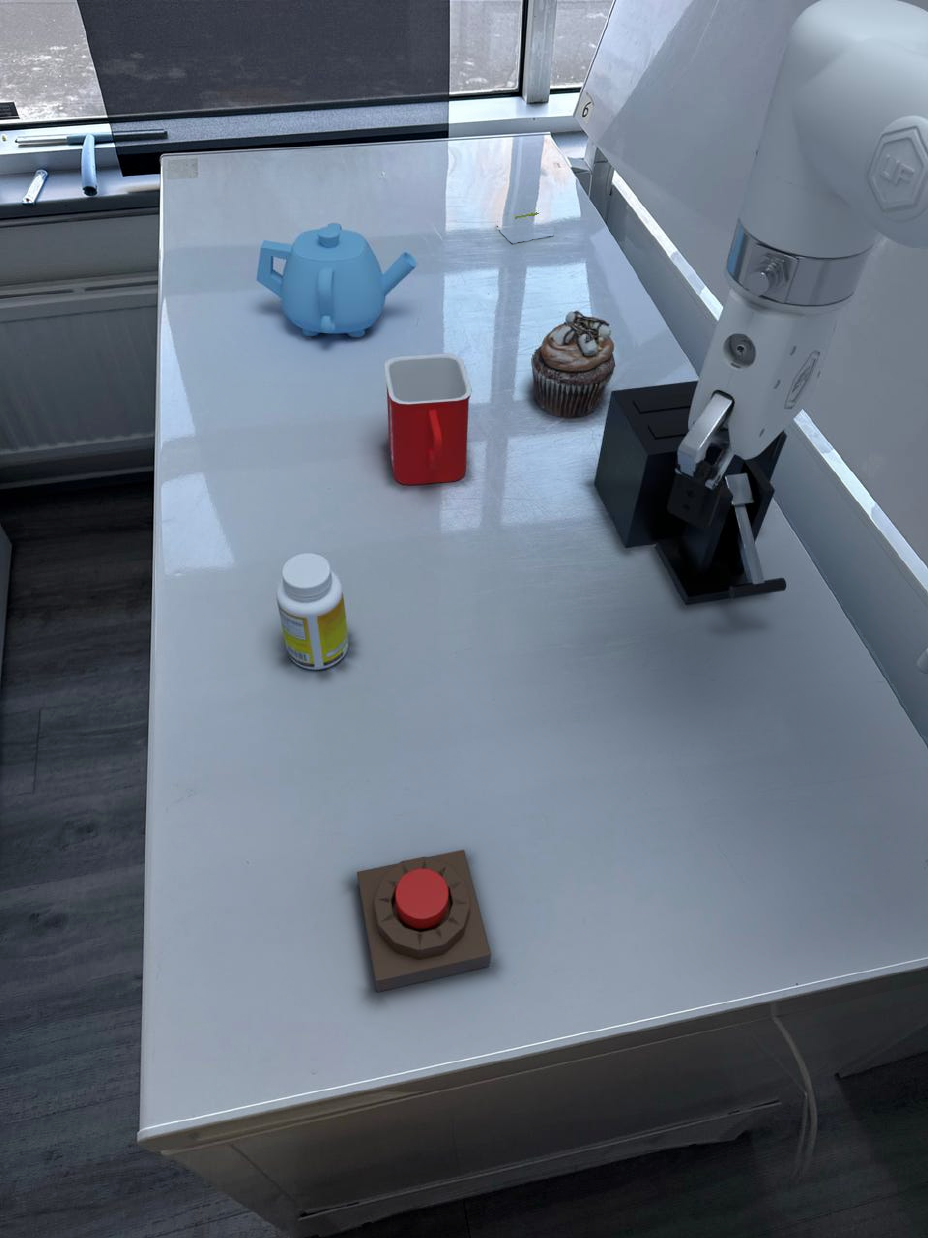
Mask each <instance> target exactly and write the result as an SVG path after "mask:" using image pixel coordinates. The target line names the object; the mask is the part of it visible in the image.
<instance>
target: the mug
mask: <svg viewBox="0 0 928 1238" xmlns="http://www.w3.org/2000/svg"><path fill="white" fill-rule="evenodd" d="M383 364H384V365H383V370H384V376H385V380H386V402H387V425H388V426H387V427H388V450H389V455H390V460H391V461H390V462H391V467H392V472H393V477H394V479H395V480H396V482H398V483H400V484H402V485H407V486H415V485H426V484H439V483H449V482H456V481H460V480H462V479H463V478H464V477H465V476H466V472H467V451H468V429H469V428H468V427H469V426H468V425H469V404H470V398H471V395H472V386H471V383H470V379H469V376H468V373H467V370H466V369H467V368H466V365H465V362H464V360H463V359H462V358H461V357H460V356H459V355H456V354H454V353H434V354H417V355H403V356H401V355H400V356H394V357H390V358H388V359H387V360H386V361H384V363H383Z"/></svg>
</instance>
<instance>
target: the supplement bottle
mask: <svg viewBox="0 0 928 1238" xmlns="http://www.w3.org/2000/svg"><path fill="white" fill-rule="evenodd" d="M281 576H282V577H281V578H280V580H279V581H278V583H277V584H276V585H277V586H276V589H275V599H276V603H277V609H278V614H279V617H280V623H281V627H282V633H283V637H284V643H285V649H286V652H287V654H288V656H289V658H290V659H291V661H293V662H294V663H295V664H296V665H298V666H299V667H301V668H304V669H308V670H323V669H327V668H330V667H332V666H334V665H336V664H337V663H339V662H340V661H341V660H342V659H343V658H344V657H345V655H346V653H347V651H348V648H349V634H348V624H347V616H346V615H347V614H346V606H345V597H344V589H343V584H342V581H341V579H340V577H339V576H338V575H337V574H336V572H334V571H332V570H331V565H330V563H329V561H328V560H327V559H326V558H324V557H323V556H321V555H320V554H316V553H299V554H297V555H294V556H292V557H291V558H289V559H288V560H286V562H285V563H284V565H283V566H282V571H281Z"/></svg>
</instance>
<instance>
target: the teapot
mask: <svg viewBox="0 0 928 1238" xmlns="http://www.w3.org/2000/svg"><path fill="white" fill-rule="evenodd" d="M342 227H343V226H342V225H341V223H339V222H331V223H329V224H327V226H323V227H320V228H317V229H311V230H306V231H303V232H301V233H300V234H299V235H297V236H296V238H295V239H294V241H293V243H292V244H290V243H286V242H278V241H272V240H266V239H263V241H262V243H261V246H260V251H259V259H258V266H257V273H256V282H258V283H259V284H260V285H262V286H264V287H265V288H266V289H268V290H269V291H270V292H272V294H274V295H275V296H277V297H278V298H280V300H281V308H282V311H283V312H284V314H285V316H286V317H287V319H289V320H290V321H291V322H292V323H293V324H294V325H295V326H297V327H298V328H301V329H302V330H301V332H302V334H303V335H305V336H307V337H314V336H315V337H316V336H318V335H320V333H324V334H345V333H346V334H347V335H348V336H349V337H352V338H360V337H363V336H364V335H365V334H366V329H368V328H370V327H371V326H372V325H374V324H375V322H376V321H377V320H378V318H379V317H380V315H381V313H382V311H383V309H384V307H385V303H386V296H387V295H388V294H390V293H391V291H392V290H393V289H395V288H396V287H397V286H398V285H399V284H400V283H401V282H402V281H403V280H404V279H405V278H406V277H407V276H408V275H409V274H411V272H412V271H413V270H414V269H416V268H417V266H418V263H417V260H416V258H415V257H414V256H413V255H412V254H410V252H407V251H404V252H403V253H401V255H400V256H399V257H398V258H397V259H396V260H395V261H394V262H393V263H392V264H391V265H390V266H389V268H387V270H385V272H384V273H383V271H382V269H381V266H380V263H379V260H378V258H377V256H376V254H375V253H374V250H373V249H372V247H371V245H370V243H369V242H368V241H367V239H366V238H365V236H364V235H362V234H361V233H359V232H357V231H353V230H349V229H348V230H347V229H342ZM274 258H276V259H280V260H285V264H284V267H283V271H282V274H281V273H279V272H278V271H276V270H275V269H274Z"/></svg>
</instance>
